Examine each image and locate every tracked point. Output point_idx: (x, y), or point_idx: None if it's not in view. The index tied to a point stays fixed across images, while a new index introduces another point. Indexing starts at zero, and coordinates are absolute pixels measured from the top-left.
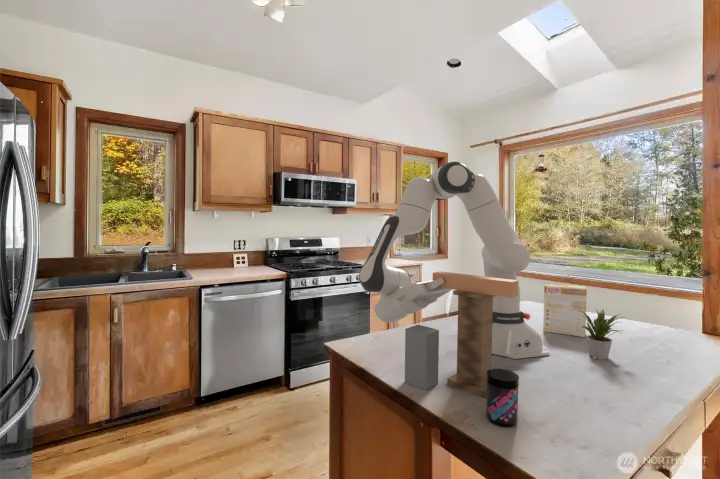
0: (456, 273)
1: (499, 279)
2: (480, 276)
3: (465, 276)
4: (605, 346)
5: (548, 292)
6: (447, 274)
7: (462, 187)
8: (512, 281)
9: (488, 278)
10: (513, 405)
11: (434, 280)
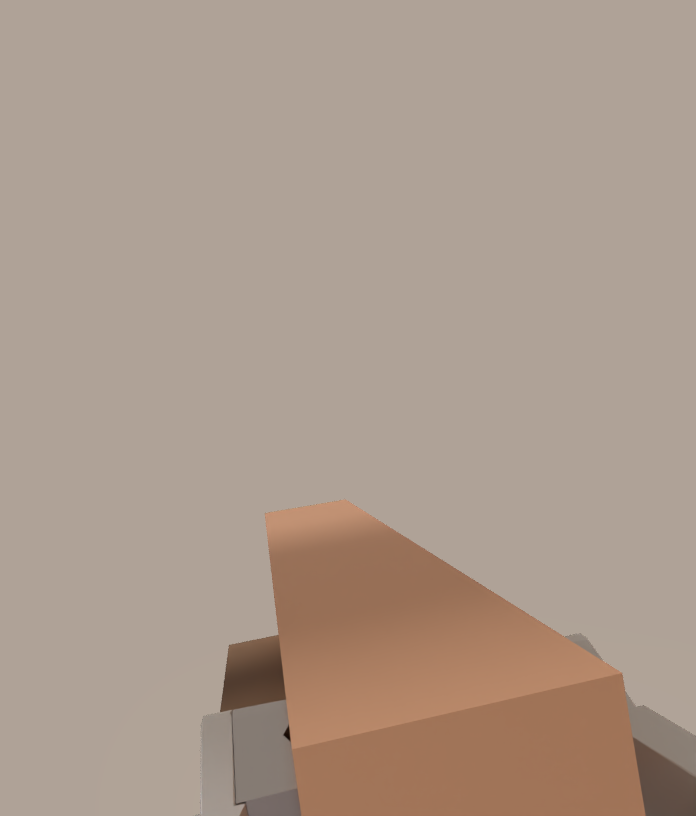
0: (291, 607)
1: (318, 514)
2: (292, 543)
3: (404, 539)
4: None
5: None
6: (476, 582)
7: None
8: (326, 503)
9: (337, 520)
10: None
11: (678, 727)
